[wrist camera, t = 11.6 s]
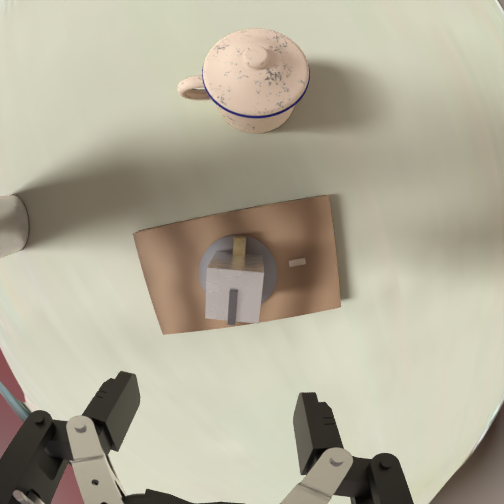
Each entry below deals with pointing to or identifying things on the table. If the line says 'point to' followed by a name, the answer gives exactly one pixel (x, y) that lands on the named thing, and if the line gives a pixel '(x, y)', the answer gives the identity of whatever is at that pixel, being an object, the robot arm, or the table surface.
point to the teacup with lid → (252, 79)
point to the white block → (234, 285)
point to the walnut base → (257, 243)
